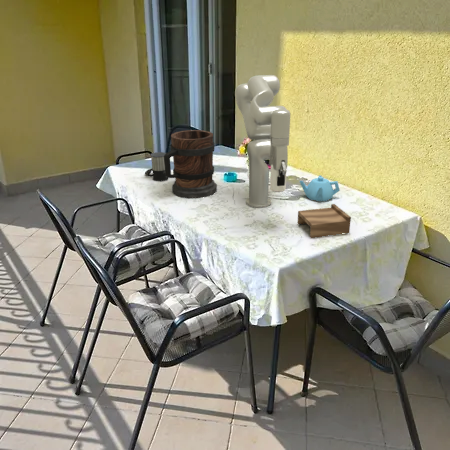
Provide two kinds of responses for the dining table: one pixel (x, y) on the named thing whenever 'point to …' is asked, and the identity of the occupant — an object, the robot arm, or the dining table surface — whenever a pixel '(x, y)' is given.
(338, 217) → the shelf
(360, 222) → the dining table surface
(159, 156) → the milk frother
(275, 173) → the can
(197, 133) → the wooden tankard
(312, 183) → the teapot
